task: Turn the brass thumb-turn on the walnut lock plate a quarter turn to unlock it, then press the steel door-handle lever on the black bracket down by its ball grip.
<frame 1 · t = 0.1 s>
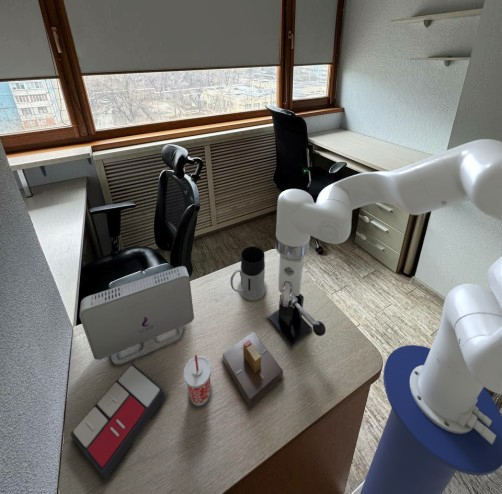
hand: (287, 297, 67), 18 cm above the table, tool pointing down, fingers open, 9 cm apart
handle bracket: (289, 324, 79), on the table
thumb turn: (252, 355, 66), point 5 cm above the table, hinge at 0.0°
glass holder: (247, 294, 89), on the table
lock plate: (251, 369, 68), on the table
beverage cup: (200, 394, 64), on the table
door lever: (304, 314, 72), point 10 cm above the table, hinge at 0.0°
network device: (148, 337, 76), on the table
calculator: (122, 418, 59), on the table
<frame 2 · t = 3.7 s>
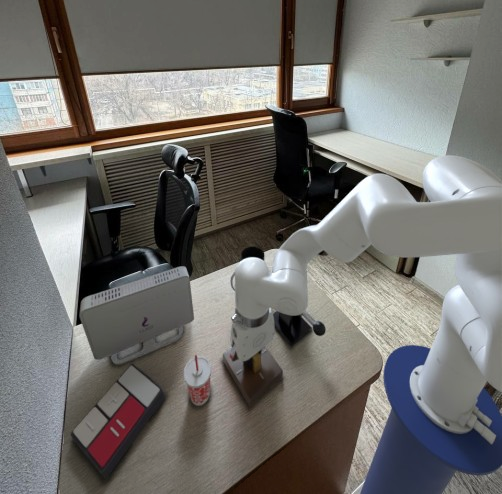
hand: (252, 360, 67), 4 cm above the table, tool pointing down, fingers closed on thumb turn, 2 cm apart
thumb turn: (252, 355, 66), point 5 cm above the table, hinge at 0.0°, touching gripper
everything else where it was.
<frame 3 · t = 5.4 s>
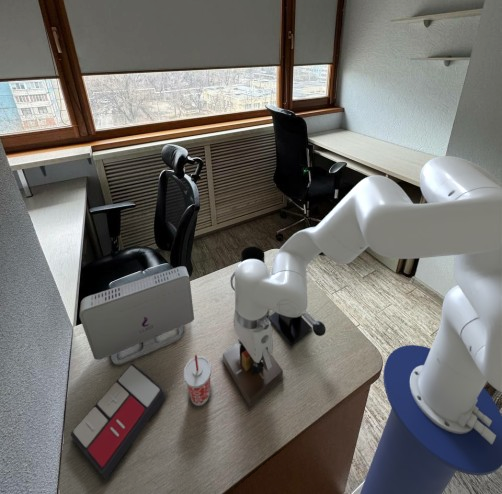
hand: (251, 360, 67), 3 cm above the table, tool pointing down, fingers open, 4 cm apart
thumb turn: (252, 355, 66), point 5 cm above the table, hinge at 90.5°
everything else where it was.
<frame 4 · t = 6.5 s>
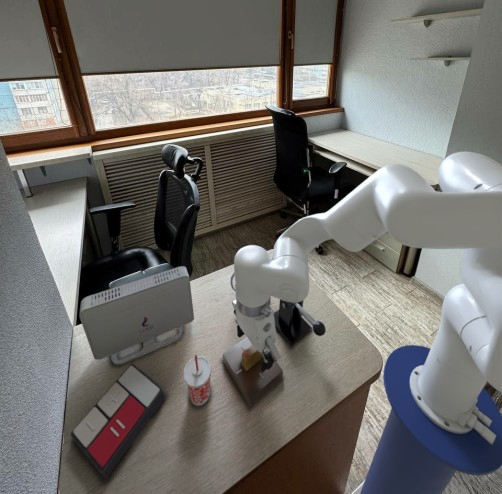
hand: (254, 349, 65), 8 cm above the table, tool pointing down, fingers open, 9 cm apart
nothing on the table moved.
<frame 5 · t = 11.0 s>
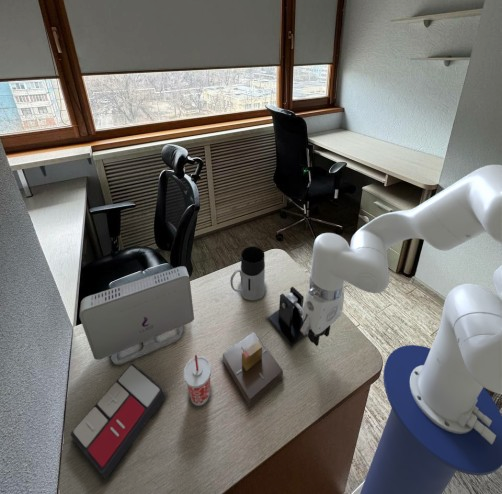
hand: (318, 335, 69), 7 cm above the table, tool pointing down, fingers closed on door lever, 3 cm apart
door lever: (304, 314, 72), point 10 cm above the table, hinge at 0.0°, touching gripper
everything else where it was.
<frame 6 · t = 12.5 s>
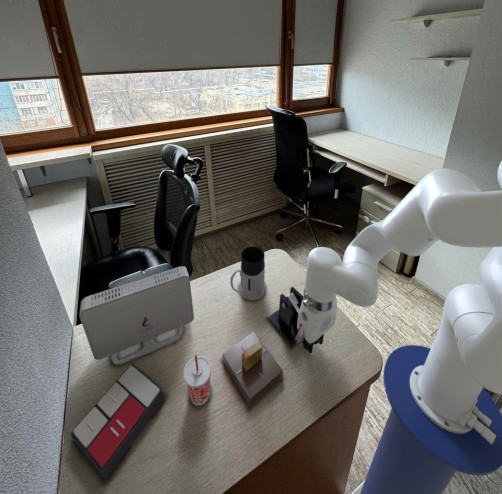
hand: (312, 343, 72), 2 cm above the table, tool pointing down, fingers closed on door lever, 3 cm apart
door lever: (302, 318, 73), point 8 cm above the table, hinge at -28.1°, touching gripper
everything else where it was.
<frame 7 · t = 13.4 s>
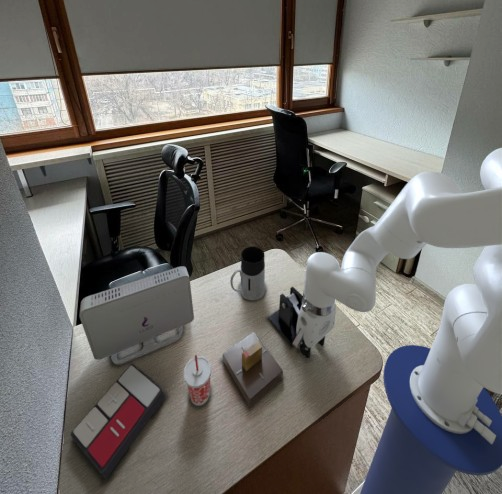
hand: (311, 347, 73), 1 cm above the table, tool pointing down, fingers open, 4 cm apart
door lever: (301, 319, 73), point 7 cm above the table, hinge at -35.5°
everything else where it was.
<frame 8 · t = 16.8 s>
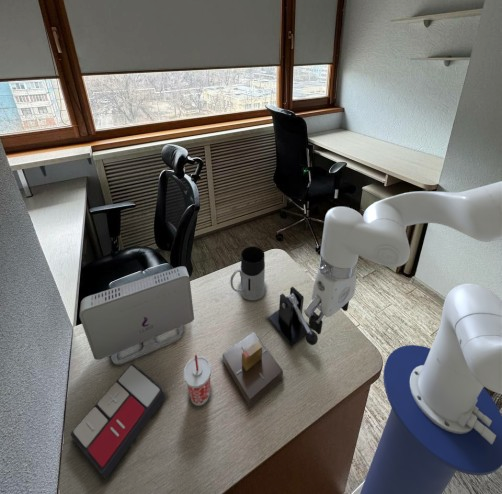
hand: (328, 317, 64), 16 cm above the table, tool pointing down, fingers open, 9 cm apart
nothing on the table moved.
at the end: thumb turn at +90° (first picture: +0°); door lever at -36° (first picture: +0°) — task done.
